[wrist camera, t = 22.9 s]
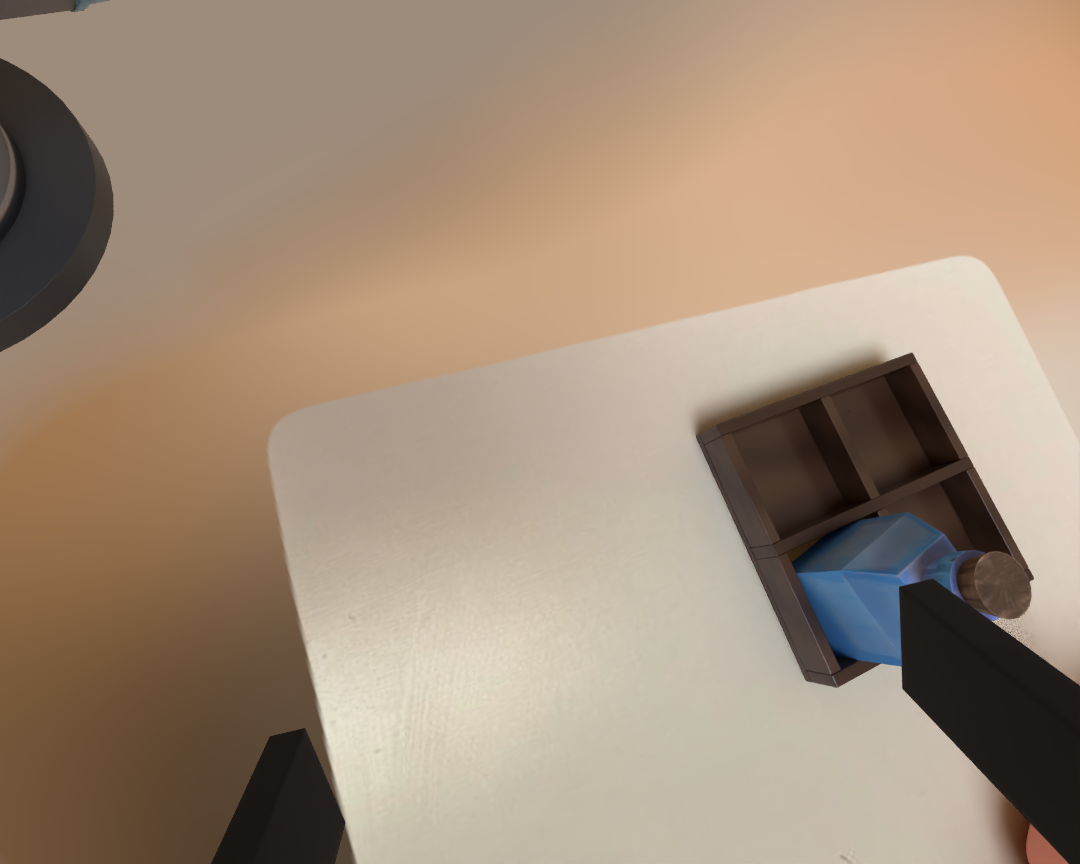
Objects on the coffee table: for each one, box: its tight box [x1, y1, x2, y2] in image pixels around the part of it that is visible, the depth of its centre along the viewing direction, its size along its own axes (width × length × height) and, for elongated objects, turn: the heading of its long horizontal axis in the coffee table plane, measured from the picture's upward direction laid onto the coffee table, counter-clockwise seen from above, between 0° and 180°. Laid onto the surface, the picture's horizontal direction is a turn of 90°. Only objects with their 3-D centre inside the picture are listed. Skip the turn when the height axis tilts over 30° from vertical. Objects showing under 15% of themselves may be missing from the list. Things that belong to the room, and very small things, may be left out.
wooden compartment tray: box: [696, 353, 1034, 688], centre depth 41 cm, size 17×17×3 cm
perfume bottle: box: [792, 512, 1031, 666], centre depth 34 cm, size 6×6×12 cm
